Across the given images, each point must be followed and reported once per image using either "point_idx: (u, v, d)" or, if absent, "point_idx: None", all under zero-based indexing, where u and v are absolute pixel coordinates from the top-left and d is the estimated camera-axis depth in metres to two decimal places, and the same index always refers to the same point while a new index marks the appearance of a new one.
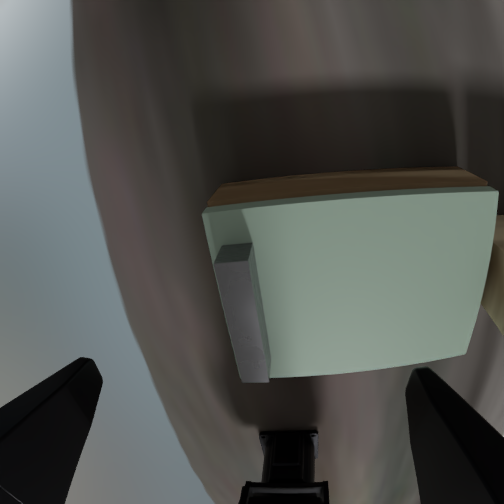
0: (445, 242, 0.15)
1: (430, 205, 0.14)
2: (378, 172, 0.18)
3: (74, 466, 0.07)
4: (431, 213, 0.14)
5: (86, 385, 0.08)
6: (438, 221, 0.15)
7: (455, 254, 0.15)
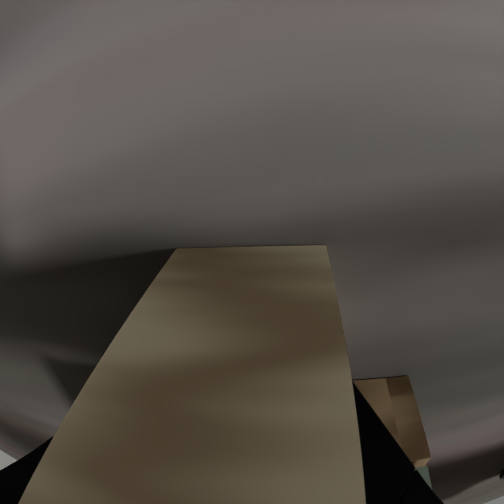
0: None
1: None
2: None
3: None
4: None
5: None
6: None
7: None
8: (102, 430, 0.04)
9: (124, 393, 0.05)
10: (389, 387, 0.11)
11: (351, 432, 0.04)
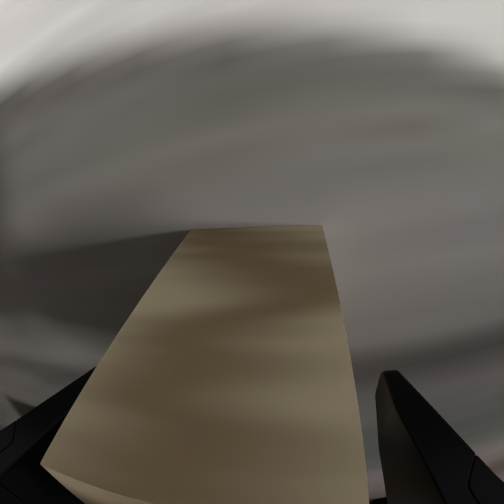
0: None
1: None
2: None
3: None
4: None
5: None
6: None
7: None
8: (136, 365, 0.05)
9: (154, 337, 0.06)
10: None
11: (344, 358, 0.05)
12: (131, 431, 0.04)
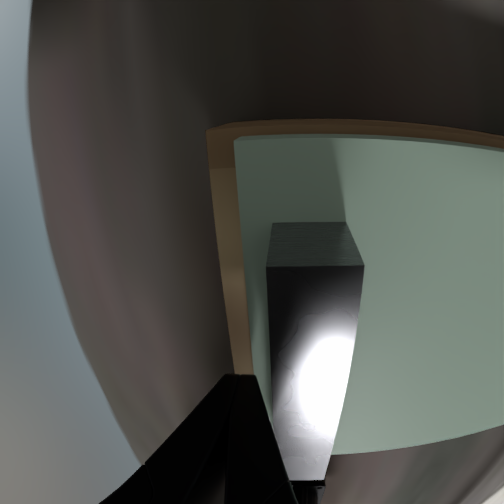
0: None
1: None
2: (490, 134, 0.09)
3: None
4: None
5: None
6: None
7: None
8: None
9: None
10: None
11: None
12: None
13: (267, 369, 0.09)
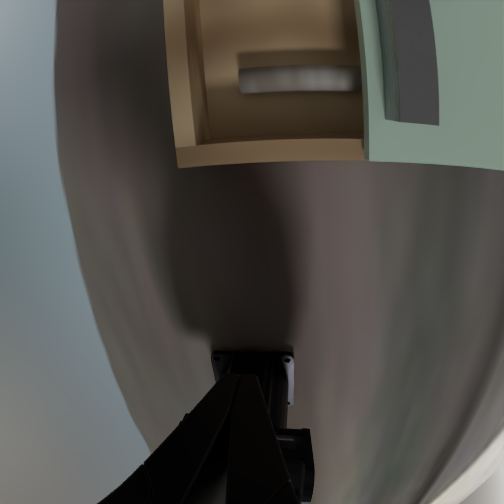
0: None
1: None
2: None
3: (224, 502, 0.06)
4: None
5: None
6: None
7: None
8: None
9: None
10: None
11: None
12: None
13: (373, 36, 0.10)
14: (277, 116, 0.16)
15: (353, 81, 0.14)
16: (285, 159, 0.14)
